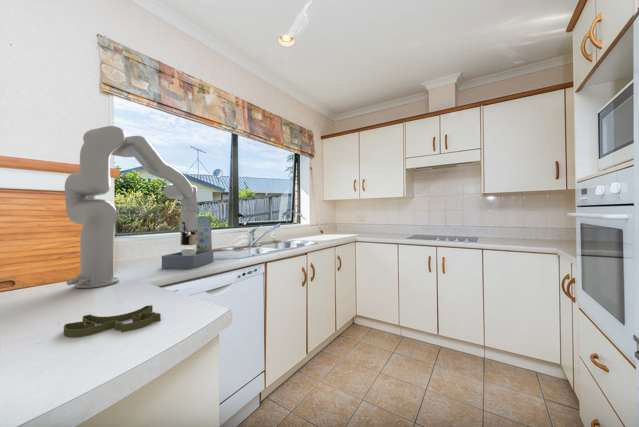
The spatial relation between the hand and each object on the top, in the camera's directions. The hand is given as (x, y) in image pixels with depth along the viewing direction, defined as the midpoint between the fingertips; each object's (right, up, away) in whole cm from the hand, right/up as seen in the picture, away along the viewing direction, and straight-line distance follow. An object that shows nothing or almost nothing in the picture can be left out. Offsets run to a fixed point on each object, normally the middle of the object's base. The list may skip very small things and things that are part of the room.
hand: (189, 243), depth 138 cm
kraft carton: (0, -1, 0) cm, 1 cm away
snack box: (-3, -11, +24) cm, 27 cm away
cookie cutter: (+20, -11, -76) cm, 79 cm away
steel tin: (0, -10, 0) cm, 10 cm away
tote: (0, -11, 0) cm, 11 cm away
